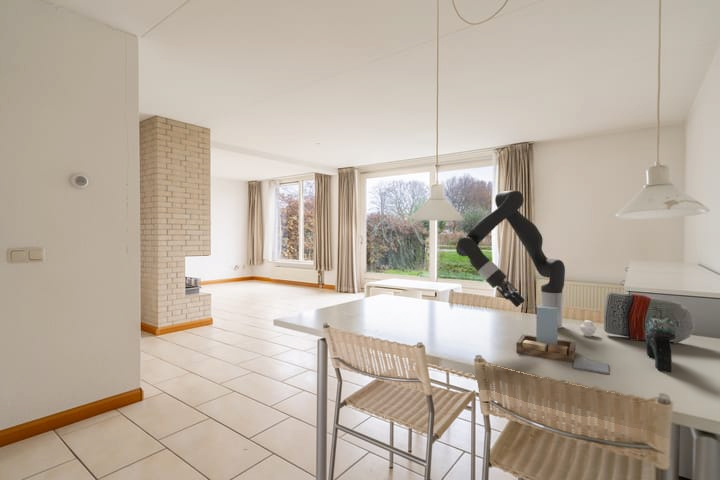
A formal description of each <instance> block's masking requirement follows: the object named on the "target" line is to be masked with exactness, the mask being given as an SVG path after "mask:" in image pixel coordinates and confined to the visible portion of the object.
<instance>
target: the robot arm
mask: <svg viewBox="0 0 720 480" xmlns="http://www.w3.org/2000/svg"><path fill="white" fill-rule="evenodd" d="M524 199H525V198H524V195H523V193H522V192H520V191H519V190H513V189H512V190H504V191H499V192H498V193H497V194H496V195H495V199H494V200H495V201H494V202H495V206H496V207H497V208H496V209H495V210H493V211H492V212H491V213H488V214H487V215H486V216H484V217H482V218H481V219H480V220H478V221H477V223H475V224H474V225H473V227H472V228H471V229H470V230H469V231H468V234H467V235H466V236H461V237H460V238H459V239H458V241H457V244H456V246H455V249H456V253H457V255H459V256H460V257H468V259H469V263H470V264H471V266H472V267H473V268H474V269H475V270H476V271H477V272H478V273H479V275H480V276H481V277H482V278H483V279H484V280H485V281H486V282H487V284H488V285H489V286H491V288H492V289H494V288H496V290H497V291H498V292H499V293H500V295H502V297H503V298H504V299H505V300H508V301H510V302H511V303H512V304H513V305H514V306H515V307H516V308H518V307H519V306H521V304H523V303H524V302H525V298H524V297H523V296H521V294H520V293H519V290H518V289H517V288H515V286H514V285H513V284H512V283H511V282H510V281H509V280H507V281H506V279H507V276H508V275H506V274H505V273H504V272H503V271H502V270H501V269H500V268H499V267H498V266H497V265H496V264H495V263H494V262H493V261H492V260H491V259H489V257H487V256H486V255H485V253H483V252H482V250H481V247H479V244H480V243H481V242H482V241H483V240H484V239H485V238H486V237H487V236H488V235H489V234H490V233H491V232H492V231H493V230H494V229H495V228H496V227H497V226H499V225H500V224H501V223H502V222H503V221H504V220H507V222H508V223H509V225H510V226H511V228H512V229H513V231H514V232H515V234H516V236H517V237H518V239H519V241H520V242H521V243H522V246H524V248H525V250H526V251H527V253H528V255H529V257H530V258H531V260H532V263H533V264H534V266H535V269H536V271H537V272H538V274H539V275H540V276H541V277H544V278H549V281H548V283H545V284H542V285H541V286H540V287H541V288H540V306H546V307H556V308H558V330H559V329H563V290H564V286H565V279H566V278H565V276H566V272H565V271H566V267H565V264H564V261H563V260H560V259H554V258H553V259H552V258H548V256H546V255H545V253H544V251H543V249H542V248H543V242H544V241H543V236H542V235H543V234H542V233H541V232H540V230H539V228H538V227H537V226H536V225H535V223H533V222H532V221H531V219H528V218H527V217H525V216H524V215H523V214H522V213H521V212H520V211H519V209H520V208H521V207H522V206H523V204H524Z"/></svg>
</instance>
